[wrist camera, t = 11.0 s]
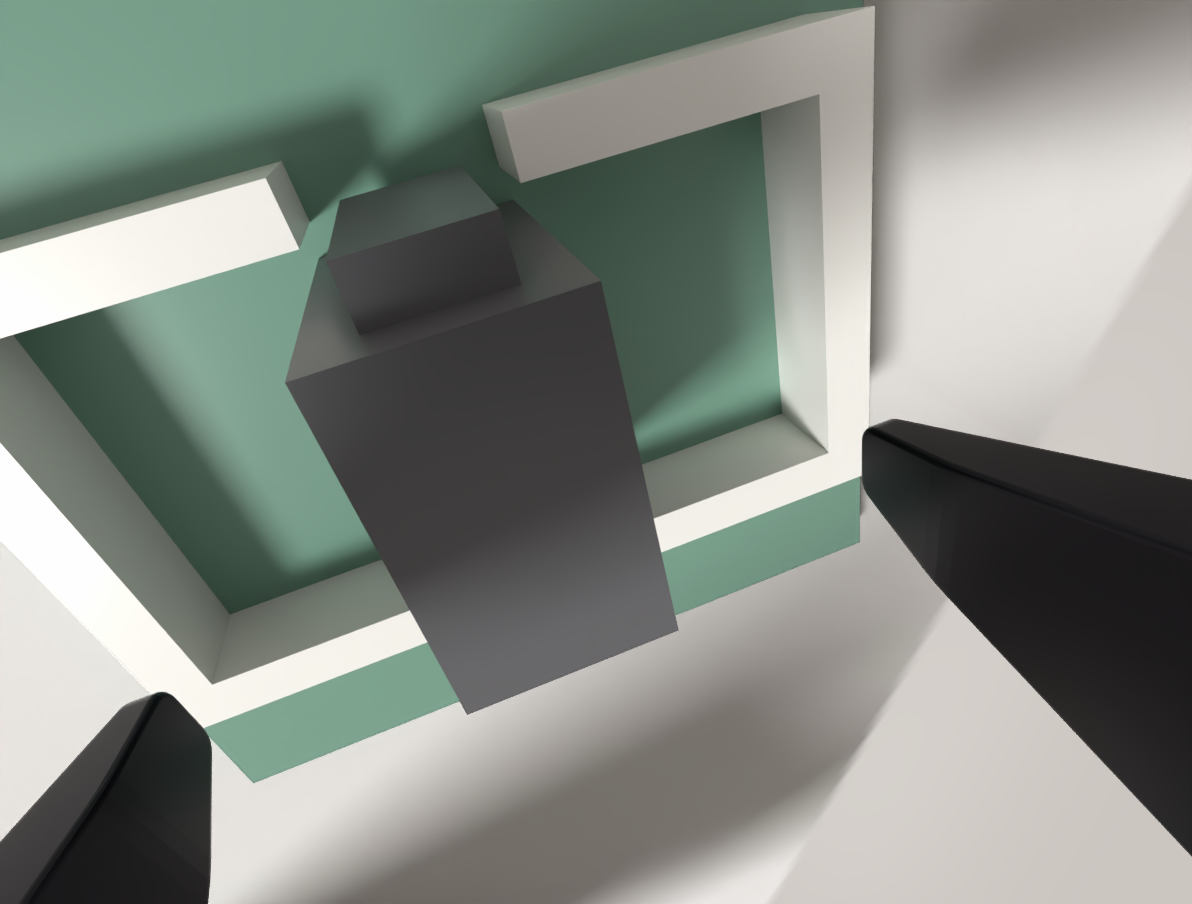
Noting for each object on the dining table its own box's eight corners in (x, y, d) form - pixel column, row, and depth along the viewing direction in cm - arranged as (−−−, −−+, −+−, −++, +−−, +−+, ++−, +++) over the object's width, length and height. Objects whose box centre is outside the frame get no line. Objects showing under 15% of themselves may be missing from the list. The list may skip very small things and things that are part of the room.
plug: (437, 515, 15) (467, 714, 10) (294, 206, 11) (241, 304, 6) (586, 462, 15) (678, 630, 11) (498, 147, 11) (583, 200, 7)
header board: (258, 756, 18) (240, 859, 16) (-479, -59, 8) (-827, -111, 6) (843, 526, 20) (905, 586, 18) (833, -333, 10) (969, -449, 8)
